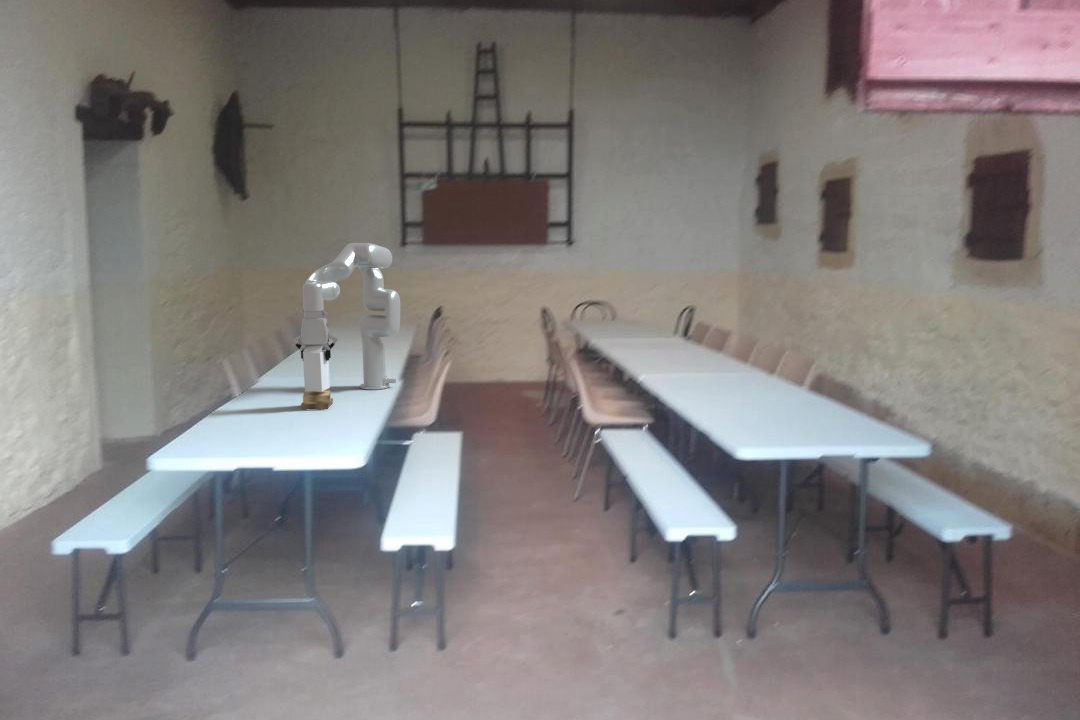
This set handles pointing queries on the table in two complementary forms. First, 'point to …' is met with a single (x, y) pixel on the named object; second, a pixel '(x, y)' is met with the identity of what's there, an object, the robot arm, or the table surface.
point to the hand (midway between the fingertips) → (316, 360)
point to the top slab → (316, 397)
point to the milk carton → (316, 368)
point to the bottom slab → (317, 405)
